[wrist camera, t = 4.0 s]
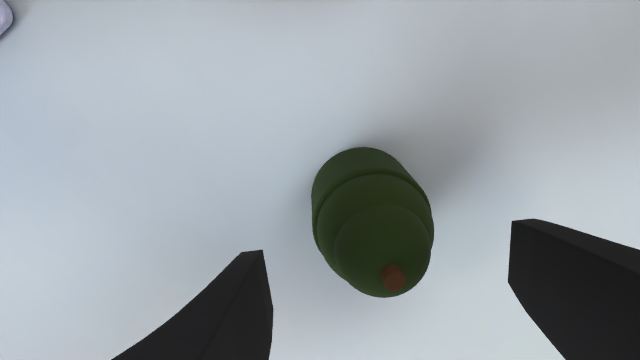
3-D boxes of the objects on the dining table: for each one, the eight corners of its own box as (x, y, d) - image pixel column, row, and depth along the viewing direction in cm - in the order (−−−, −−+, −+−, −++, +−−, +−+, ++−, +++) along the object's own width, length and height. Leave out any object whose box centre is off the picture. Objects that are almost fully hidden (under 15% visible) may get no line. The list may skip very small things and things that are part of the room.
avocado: (348, 256, 17) (371, 371, 11) (291, 185, 16) (281, 269, 10) (428, 204, 16) (502, 296, 10) (375, 126, 15) (423, 175, 9)
